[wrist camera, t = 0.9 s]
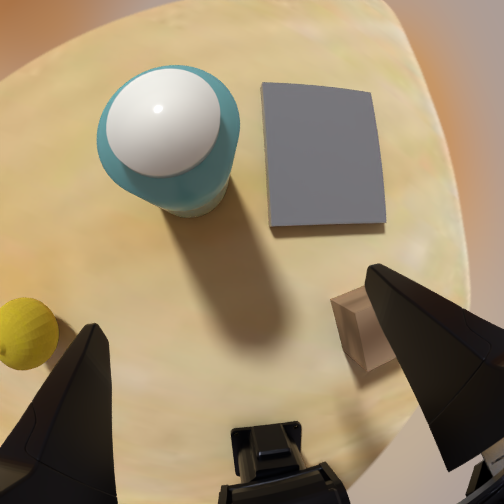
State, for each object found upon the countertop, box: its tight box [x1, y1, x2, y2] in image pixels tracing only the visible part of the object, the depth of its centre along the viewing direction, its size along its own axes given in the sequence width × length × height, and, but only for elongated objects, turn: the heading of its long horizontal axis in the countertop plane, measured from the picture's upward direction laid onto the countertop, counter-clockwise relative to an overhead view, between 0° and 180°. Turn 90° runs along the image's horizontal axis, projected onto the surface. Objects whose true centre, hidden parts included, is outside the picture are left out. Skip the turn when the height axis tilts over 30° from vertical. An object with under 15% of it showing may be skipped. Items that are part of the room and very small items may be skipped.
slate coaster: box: [261, 82, 386, 227], centre depth 24 cm, size 12×10×1 cm
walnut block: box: [330, 286, 396, 372], centre depth 23 cm, size 5×5×5 cm
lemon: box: [0, 298, 59, 370], centre depth 18 cm, size 6×6×8 cm
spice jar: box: [97, 65, 240, 218], centre depth 17 cm, size 6×6×13 cm
